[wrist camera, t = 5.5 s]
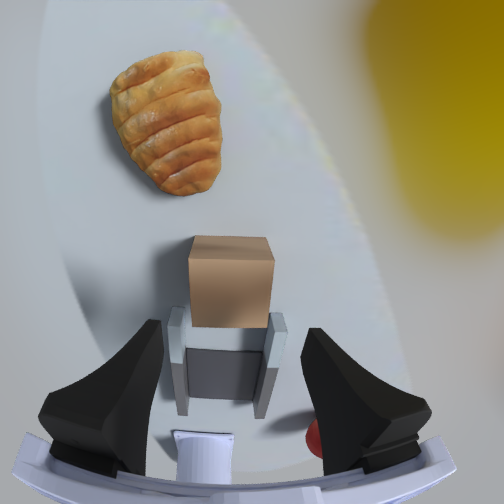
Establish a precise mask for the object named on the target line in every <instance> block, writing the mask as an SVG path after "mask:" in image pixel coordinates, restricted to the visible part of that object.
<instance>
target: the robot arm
mask: <svg viewBox="0 0 504 504" xmlns="http://www.w3.org/2000/svg"><path fill="white" fill-rule="evenodd" d="M163 355H164V346H163V337H162V327H161V321H160V320H151V319H148V320H147V321H146V322H145V324H144V325H143V326H142V327H141V328H140V329H139V331H138V332H137V333H136V334H135V335H134V336H133V337H132V338H131V339H130V340H129V341H128V343H127V344H126V345H125V346H124V347H123V348H122V349H121V350H120V351H118V352H117V353H116V354H115V355H114V356H113V357H112V358H111V359H110V360H108V361H107V362H106V363H105V364H103V365H102V366H101V367H100V368H98V369H97V370H95V371H94V372H93V373H91V374H89V375H88V376H86V377H84V378H83V379H81V380H79V381H77V382H75V383H73V384H71V385H69V386H67V387H65V388H62V389H59V390H57V391H54V392H52V393H49V395H48V396H47V398H46V400H45V402H44V404H43V406H42V408H41V411H40V413H39V415H38V418H39V421H40V423H41V425H42V426H43V427H44V428H45V430H46V431H47V432H48V433H49V434H50V436H51V437H52V438H53V439H54V440H53V442H52V445H51V444H50V443H49V442H47V441H45V440H43V439H41V438H39V437H37V436H35V435H32V434H30V433H28V432H26V434H25V436H24V439H23V441H22V444H21V447H20V449H19V452H18V455H17V457H16V460H15V463H14V466H13V469H12V474H13V475H14V476H15V477H17V478H18V479H20V480H21V481H22V482H24V483H25V484H27V485H28V486H29V487H31V488H32V489H34V490H35V491H37V492H38V493H40V494H42V495H44V496H46V497H48V498H50V499H52V500H54V501H57V502H59V503H61V504H399V503H402V502H404V501H406V500H408V499H410V498H412V497H414V496H416V495H419V494H421V493H422V492H424V491H426V490H428V489H430V488H431V487H433V486H435V485H436V484H437V483H439V482H441V481H442V480H443V479H445V478H446V477H448V476H449V475H450V474H452V473H453V472H454V471H456V469H457V468H456V466H455V464H454V462H453V460H452V458H451V456H450V454H449V452H448V450H447V448H446V446H445V444H444V443H443V441H442V439H441V437H440V436H439V435H438V436H436V437H433V438H431V439H428V440H426V441H424V442H422V443H421V444H419V445H418V443H417V441H416V440H418V439H419V436H418V434H417V432H418V431H419V430H420V429H421V428H422V427H423V426H424V425H425V424H426V423H427V421H428V420H429V418H430V417H431V414H432V411H431V409H430V408H429V406H428V404H427V402H426V401H425V399H423V398H420V397H417V396H414V395H411V394H409V393H406V392H404V391H402V390H399V389H397V388H395V387H393V386H391V385H389V384H387V383H386V382H384V381H382V380H380V379H379V378H377V377H376V376H374V375H373V374H371V373H370V372H368V371H367V370H366V369H364V368H363V367H362V366H360V365H359V364H358V363H357V362H356V361H355V360H353V359H352V358H351V357H350V356H349V355H348V354H347V353H346V352H344V351H343V350H342V349H341V348H340V347H339V346H338V345H337V344H336V343H335V342H334V341H333V340H332V339H331V338H330V337H329V336H328V335H327V334H326V333H325V332H324V331H323V330H322V329H321V328H309V330H308V334H307V337H306V340H305V344H304V347H303V350H302V353H301V356H300V358H301V364H302V370H303V375H304V378H305V381H306V384H307V388H308V391H309V394H310V397H311V400H312V403H313V406H314V409H315V413H316V417H317V423H318V428H319V434H320V441H321V448H322V458H323V470H324V476H322V477H317V478H311V479H304V480H297V481H288V482H278V483H266V484H241V485H240V484H236V485H235V484H234V485H233V484H232V479H231V461H230V460H231V455H232V449H233V443H234V435H232V434H210V433H195V432H184V431H174V438H175V442H176V446H177V450H178V460H177V475H176V481H171V480H164V479H158V478H151V477H146V476H145V469H146V468H145V467H146V445H147V434H148V425H149V417H150V410H151V405H152V401H153V398H154V394H155V390H156V387H157V383H158V379H159V376H160V372H161V368H162V362H163Z"/></svg>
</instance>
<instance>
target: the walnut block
mask: <svg viewBox="0 0 504 504" xmlns="http://www.w3.org/2000/svg"><path fill="white" fill-rule="evenodd" d="M188 263H189V285H190V302H191V317H192V327H212V328H267V324H268V316H269V307H270V299H271V290H272V281H273V272H274V263H275V260H274V257H273V255H272V252H271V249H270V247H269V244H268V241H267V239H266V237H236V236H198V235H195V238H194V242H193V245H192V248H191V251H190V255H189V258H188Z"/></svg>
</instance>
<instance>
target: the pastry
mask: <svg viewBox="0 0 504 504" xmlns="http://www.w3.org/2000/svg"><path fill="white" fill-rule="evenodd" d="M110 96H111V100H112V119H113V125H114V127H115V128H116V130H117V132H118V134H119V136H120V139H121V142H122V144H123V147H124V148H125V149H126V150H127V152H128V153H129V155H130V157H131V159H132V160H133V161H134V162H136V163H137V164H138V166H139V168H140V169H141V170H142V171H144V172H145V173H146V174H147V175H148V176H150V177H151V178H152V180H153V181H154V182H155V183H156V185H157V186H158V188H159V189H161V190H162V191H164V192H166V193H169V194H173V195H177V196H188V195H193V194H195V193H201V192H205V191H207V190H209V188H210V187H211V186H212V184H213V182H214V181H215V179H216V177H217V175H218V174H219V172H220V170H221V154H220V151H221V144H222V130H221V125H220V113H221V103H220V101H219V99H218V98H217V97H216V96H215V94H214V90H213V87H212V84H211V82H210V76H209V73H208V71H207V69H206V68H205V66H204V58H203V56H202V55H201V54H200V53H198V52H196V51H186V50H181V51H177V52H163V53H161V54H158V55H154V56H151V57H148V58H146V59H144V60H141V61H139V62H136V63H134V64H133V65H131V66H130V67H129V68H128V69H127V70H126V71H124V72H122V73H120V74H119V75H118V76H117V77H116V79H115V80H114V81H113V83H112V86H111V87H110Z"/></svg>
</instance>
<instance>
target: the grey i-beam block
mask: <svg viewBox="0 0 504 504" xmlns="http://www.w3.org/2000/svg"><path fill="white" fill-rule="evenodd" d="M167 330H168V342H169V352H170V361H171V370H172V378H173V385H174V393H175V399H176V406H177V412H178V415H180V416H188V405H189V395H190V397H193V398H207V399H227V400H253V407H254V416H255V419H264V418H265V414H266V411H267V408H268V404H269V401H270V397H271V394H272V391H273V387H274V383H275V380H276V376H277V372H278V369H279V365H280V361H281V358H282V354H283V350H284V346H285V342H286V338H287V334H288V331H287V327H286V324H285V321H284V317H283V314H282V313H270V318H269V323H268V329H267V334H266V339H265V344H264V349H263V354H262V352H247V351H223V350H206V349H193V348H187V361H186V341H185V309H184V308H182V307H172V310H171V313H170V317H169V321H168V324H167ZM261 357H262V359H261ZM260 362H261V364H260ZM187 365H188V377H187ZM259 367H260V369H259ZM258 372H259V374H258ZM257 376H258V379H257ZM188 381H189V391H188ZM256 381H257V384H256ZM255 386H256V388H255ZM254 391H255V393H254ZM253 396H254V398H253Z"/></svg>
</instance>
